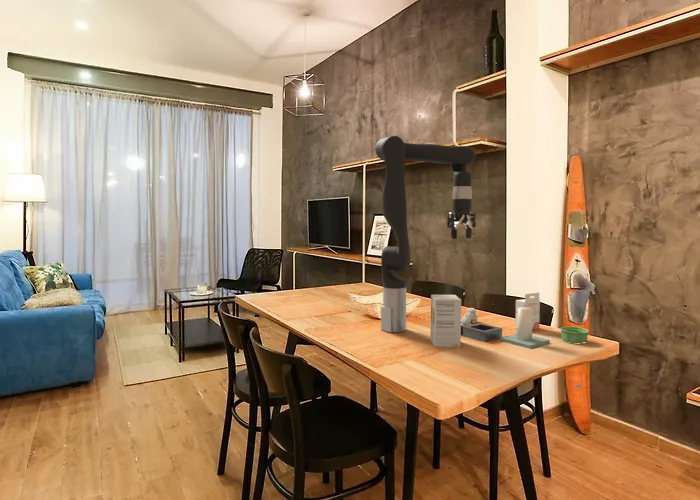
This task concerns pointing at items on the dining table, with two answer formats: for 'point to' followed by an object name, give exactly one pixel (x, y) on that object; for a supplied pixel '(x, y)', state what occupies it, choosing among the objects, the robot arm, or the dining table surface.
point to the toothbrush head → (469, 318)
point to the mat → (528, 344)
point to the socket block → (482, 332)
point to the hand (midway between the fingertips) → (461, 238)
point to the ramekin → (574, 334)
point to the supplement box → (445, 321)
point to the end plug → (524, 323)
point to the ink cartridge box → (530, 303)
